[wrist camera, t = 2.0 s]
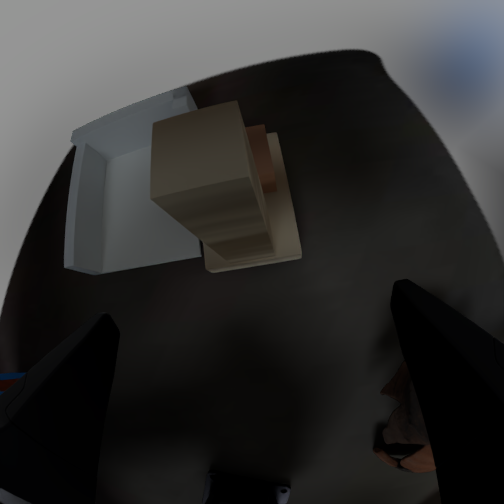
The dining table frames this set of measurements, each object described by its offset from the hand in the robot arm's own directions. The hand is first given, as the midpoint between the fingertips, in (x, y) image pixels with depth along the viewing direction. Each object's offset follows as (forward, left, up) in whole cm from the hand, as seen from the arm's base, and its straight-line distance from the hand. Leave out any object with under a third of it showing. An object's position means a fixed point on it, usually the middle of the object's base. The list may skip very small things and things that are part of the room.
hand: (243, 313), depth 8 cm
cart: (+7, +3, -11) cm, 14 cm away
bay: (+8, +12, -11) cm, 19 cm away
